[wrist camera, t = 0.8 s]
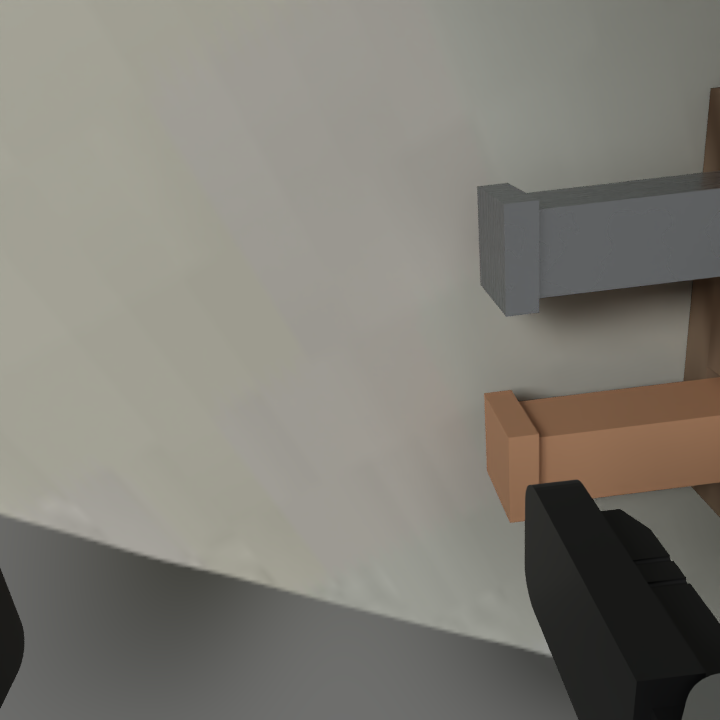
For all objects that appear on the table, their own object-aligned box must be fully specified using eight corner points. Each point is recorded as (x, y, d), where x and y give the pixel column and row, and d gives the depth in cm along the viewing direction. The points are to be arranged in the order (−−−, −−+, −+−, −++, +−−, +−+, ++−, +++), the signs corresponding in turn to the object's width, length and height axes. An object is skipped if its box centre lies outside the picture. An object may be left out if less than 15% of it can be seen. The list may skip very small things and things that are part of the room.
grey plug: (477, 186, 26) (503, 204, 23) (809, 147, 27) (889, 159, 23) (480, 284, 28) (505, 316, 24) (794, 247, 28) (866, 273, 24)
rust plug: (484, 393, 30) (508, 438, 26) (777, 357, 30) (842, 396, 26) (486, 470, 31) (510, 522, 28) (765, 436, 32) (825, 483, 28)
